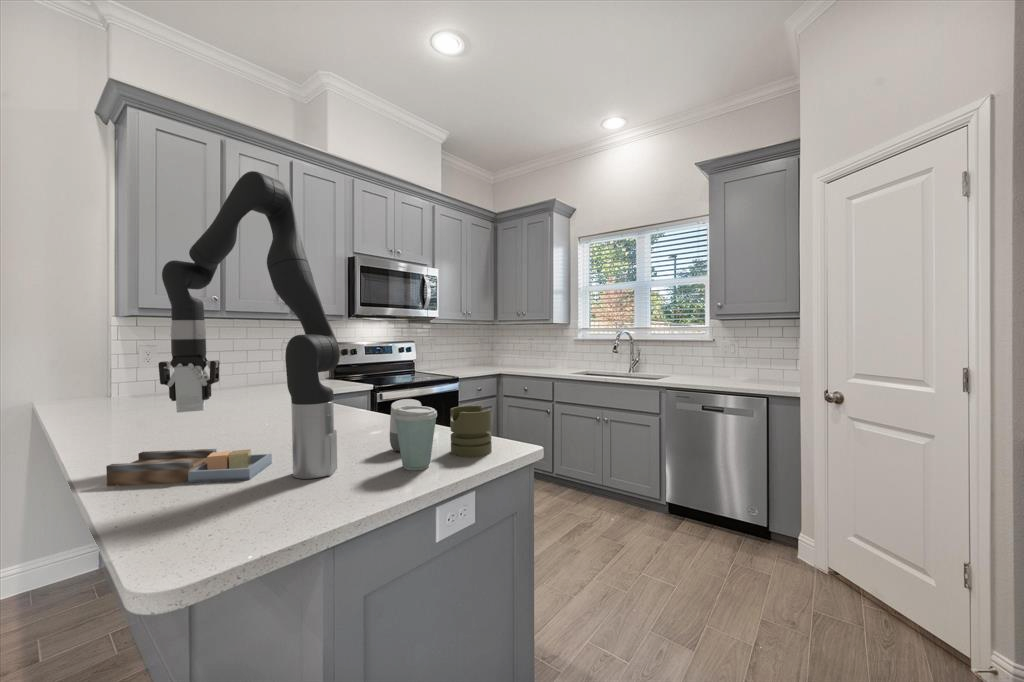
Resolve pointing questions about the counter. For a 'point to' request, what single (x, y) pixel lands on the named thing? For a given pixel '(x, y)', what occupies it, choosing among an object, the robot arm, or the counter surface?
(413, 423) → the disposable coffee cup
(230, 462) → the olive yellow cube
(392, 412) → the smart speaker
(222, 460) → the orange cube
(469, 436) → the piston
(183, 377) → the skincare box
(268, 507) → the counter surface
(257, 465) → the tray
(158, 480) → the slotted board
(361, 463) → the counter surface
